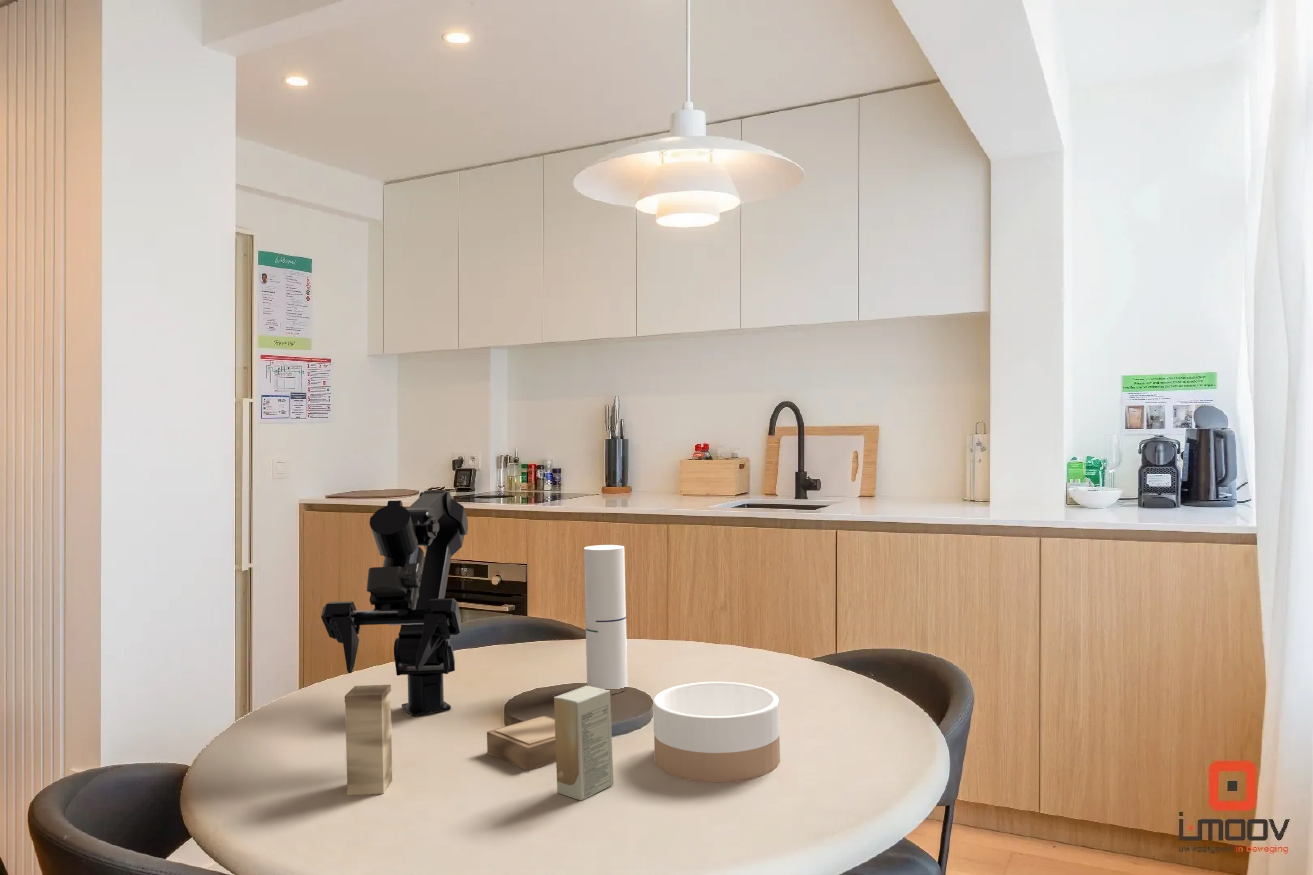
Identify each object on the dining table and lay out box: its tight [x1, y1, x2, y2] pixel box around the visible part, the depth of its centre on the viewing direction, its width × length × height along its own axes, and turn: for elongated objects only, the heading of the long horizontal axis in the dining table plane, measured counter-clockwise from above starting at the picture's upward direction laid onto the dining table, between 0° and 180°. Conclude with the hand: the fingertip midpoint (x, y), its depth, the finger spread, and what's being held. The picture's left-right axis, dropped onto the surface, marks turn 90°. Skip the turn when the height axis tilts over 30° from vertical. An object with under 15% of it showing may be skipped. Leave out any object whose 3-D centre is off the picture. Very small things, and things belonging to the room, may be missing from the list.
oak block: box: [344, 684, 393, 796], centre depth 114 cm, size 5×5×12 cm
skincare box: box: [553, 685, 614, 801], centre depth 112 cm, size 6×4×12 cm
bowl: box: [652, 681, 781, 783], centre depth 122 cm, size 17×17×8 cm
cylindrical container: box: [583, 544, 629, 689], centre depth 158 cm, size 7×7×25 cm
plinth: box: [486, 715, 556, 772], centre depth 126 cm, size 10×10×3 cm
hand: (383, 670), depth 122 cm, fingers open, 9 cm apart
